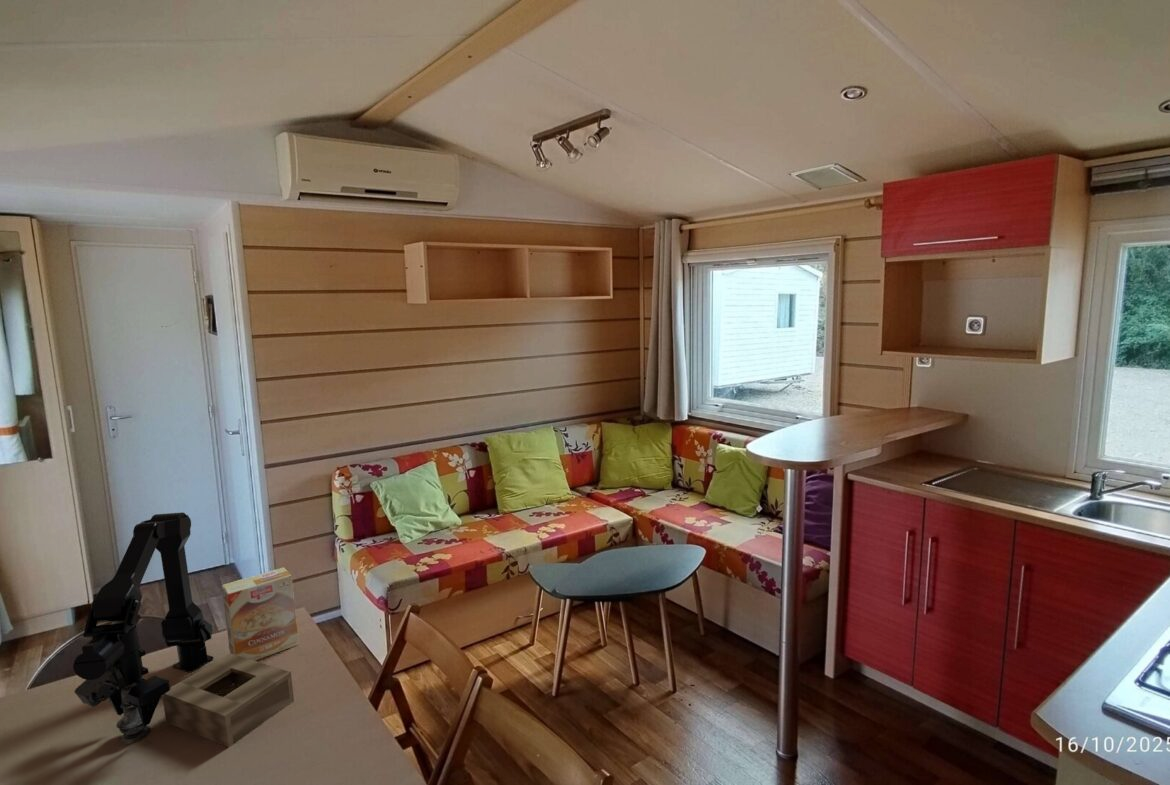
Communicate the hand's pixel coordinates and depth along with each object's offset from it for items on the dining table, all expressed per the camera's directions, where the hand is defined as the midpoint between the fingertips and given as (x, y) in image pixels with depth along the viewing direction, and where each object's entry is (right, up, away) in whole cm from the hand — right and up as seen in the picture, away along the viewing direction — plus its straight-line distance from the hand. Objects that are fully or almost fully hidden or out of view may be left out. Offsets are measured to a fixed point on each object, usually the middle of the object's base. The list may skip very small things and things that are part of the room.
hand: (133, 719), depth 133 cm
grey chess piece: (0, -4, +1) cm, 4 cm away
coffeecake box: (+12, +2, +31) cm, 33 cm away
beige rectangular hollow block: (+16, -2, +7) cm, 18 cm away
